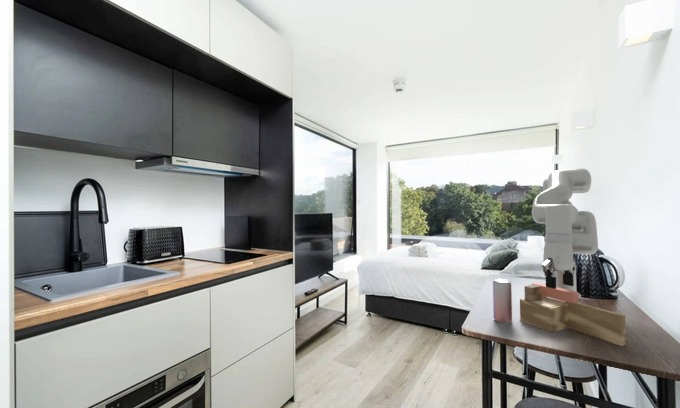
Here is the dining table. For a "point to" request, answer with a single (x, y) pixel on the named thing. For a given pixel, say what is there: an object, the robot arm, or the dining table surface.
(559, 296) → the pink rectangular block
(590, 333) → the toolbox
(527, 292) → the lid
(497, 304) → the beverage can
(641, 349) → the dining table surface
